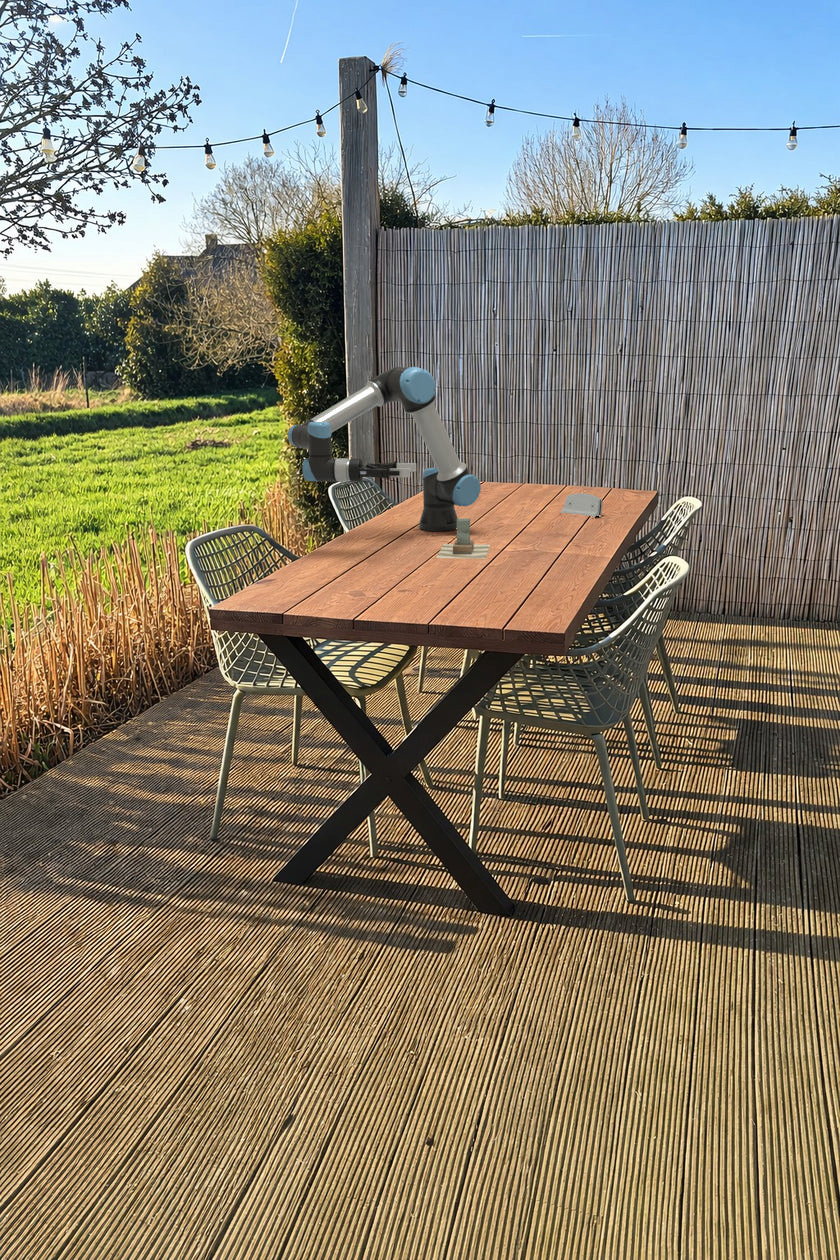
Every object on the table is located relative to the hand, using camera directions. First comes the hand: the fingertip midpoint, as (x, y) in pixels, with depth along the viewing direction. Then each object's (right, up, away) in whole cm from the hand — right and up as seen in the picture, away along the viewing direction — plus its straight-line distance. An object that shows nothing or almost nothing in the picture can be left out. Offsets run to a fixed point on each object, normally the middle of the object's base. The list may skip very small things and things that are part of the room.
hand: (413, 470), depth 321 cm
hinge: (+67, -7, +72) cm, 99 cm away
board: (+17, -28, +4) cm, 33 cm away
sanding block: (+17, -26, +3) cm, 31 cm away
